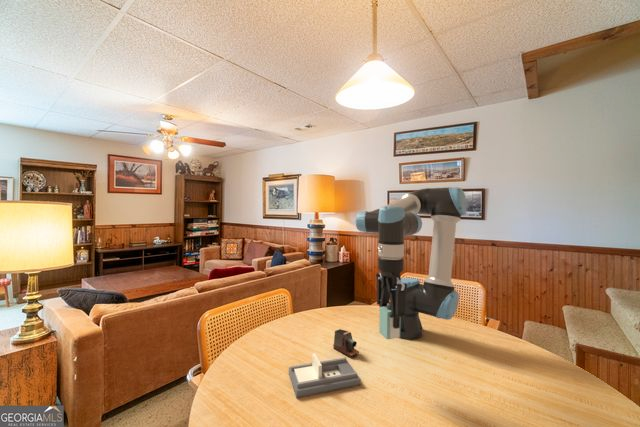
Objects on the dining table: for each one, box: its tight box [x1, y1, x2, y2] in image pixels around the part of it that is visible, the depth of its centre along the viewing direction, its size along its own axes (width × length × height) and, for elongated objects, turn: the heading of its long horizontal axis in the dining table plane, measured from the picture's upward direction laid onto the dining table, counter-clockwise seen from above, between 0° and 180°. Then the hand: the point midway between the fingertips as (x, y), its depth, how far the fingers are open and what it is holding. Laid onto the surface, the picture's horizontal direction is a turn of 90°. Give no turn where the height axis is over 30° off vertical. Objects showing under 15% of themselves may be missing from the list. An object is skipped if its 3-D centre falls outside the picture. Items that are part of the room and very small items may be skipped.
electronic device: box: [333, 328, 360, 359], centre depth 103 cm, size 4×10×8 cm, turn 42°
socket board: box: [288, 357, 361, 399], centre depth 86 cm, size 20×12×3 cm, turn 107°
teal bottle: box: [378, 302, 401, 340], centre depth 82 cm, size 4×4×10 cm
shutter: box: [294, 353, 322, 383], centre depth 84 cm, size 7×7×5 cm
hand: (389, 333), depth 83 cm, fingers closed on teal bottle, 4 cm apart
